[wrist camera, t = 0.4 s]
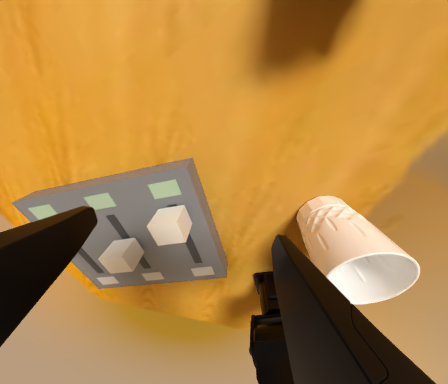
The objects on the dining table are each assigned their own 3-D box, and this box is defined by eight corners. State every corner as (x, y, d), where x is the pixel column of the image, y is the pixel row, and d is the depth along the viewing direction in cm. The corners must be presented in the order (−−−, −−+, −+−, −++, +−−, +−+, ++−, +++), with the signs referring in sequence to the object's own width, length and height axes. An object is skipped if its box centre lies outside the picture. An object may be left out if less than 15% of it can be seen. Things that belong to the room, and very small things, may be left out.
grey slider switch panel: (227, 261, 30) (226, 278, 27) (109, 274, 34) (98, 289, 31) (192, 157, 21) (186, 166, 18) (34, 191, 25) (10, 203, 22)
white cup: (336, 236, 26) (388, 308, 17) (286, 232, 26) (311, 301, 17) (360, 193, 22) (443, 257, 13) (300, 188, 22) (343, 248, 13)
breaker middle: (144, 251, 25) (133, 271, 22) (124, 254, 25) (110, 273, 23) (134, 237, 23) (121, 256, 21) (113, 240, 24) (97, 259, 21)
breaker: (192, 223, 22) (186, 242, 19) (167, 227, 22) (158, 245, 19) (184, 204, 20) (176, 222, 17) (158, 209, 21) (146, 226, 18)
